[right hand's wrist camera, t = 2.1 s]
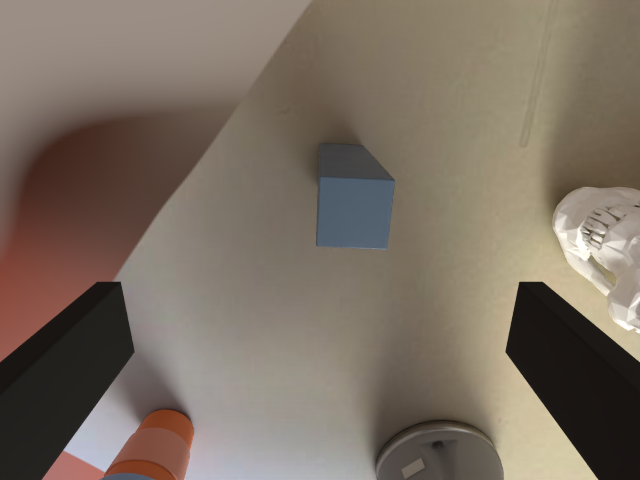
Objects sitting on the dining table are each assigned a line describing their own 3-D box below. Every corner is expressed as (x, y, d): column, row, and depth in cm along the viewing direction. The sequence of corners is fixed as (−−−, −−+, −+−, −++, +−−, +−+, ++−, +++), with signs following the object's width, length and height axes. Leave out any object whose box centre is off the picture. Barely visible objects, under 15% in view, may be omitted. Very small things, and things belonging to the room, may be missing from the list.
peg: (363, 145, 35) (395, 179, 20) (359, 188, 37) (387, 250, 22) (319, 143, 35) (319, 176, 20) (317, 186, 37) (316, 246, 22)
